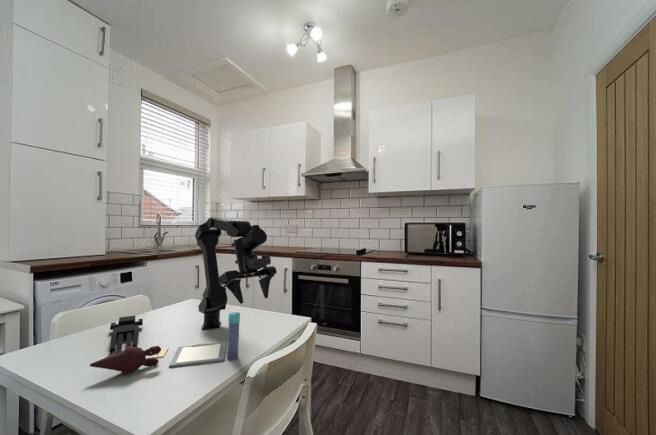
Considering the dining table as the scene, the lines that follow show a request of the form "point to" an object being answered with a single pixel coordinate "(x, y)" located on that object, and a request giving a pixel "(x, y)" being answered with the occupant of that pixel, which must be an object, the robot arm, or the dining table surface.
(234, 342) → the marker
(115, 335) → the toy
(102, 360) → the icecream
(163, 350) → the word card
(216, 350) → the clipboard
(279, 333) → the dining table surface
